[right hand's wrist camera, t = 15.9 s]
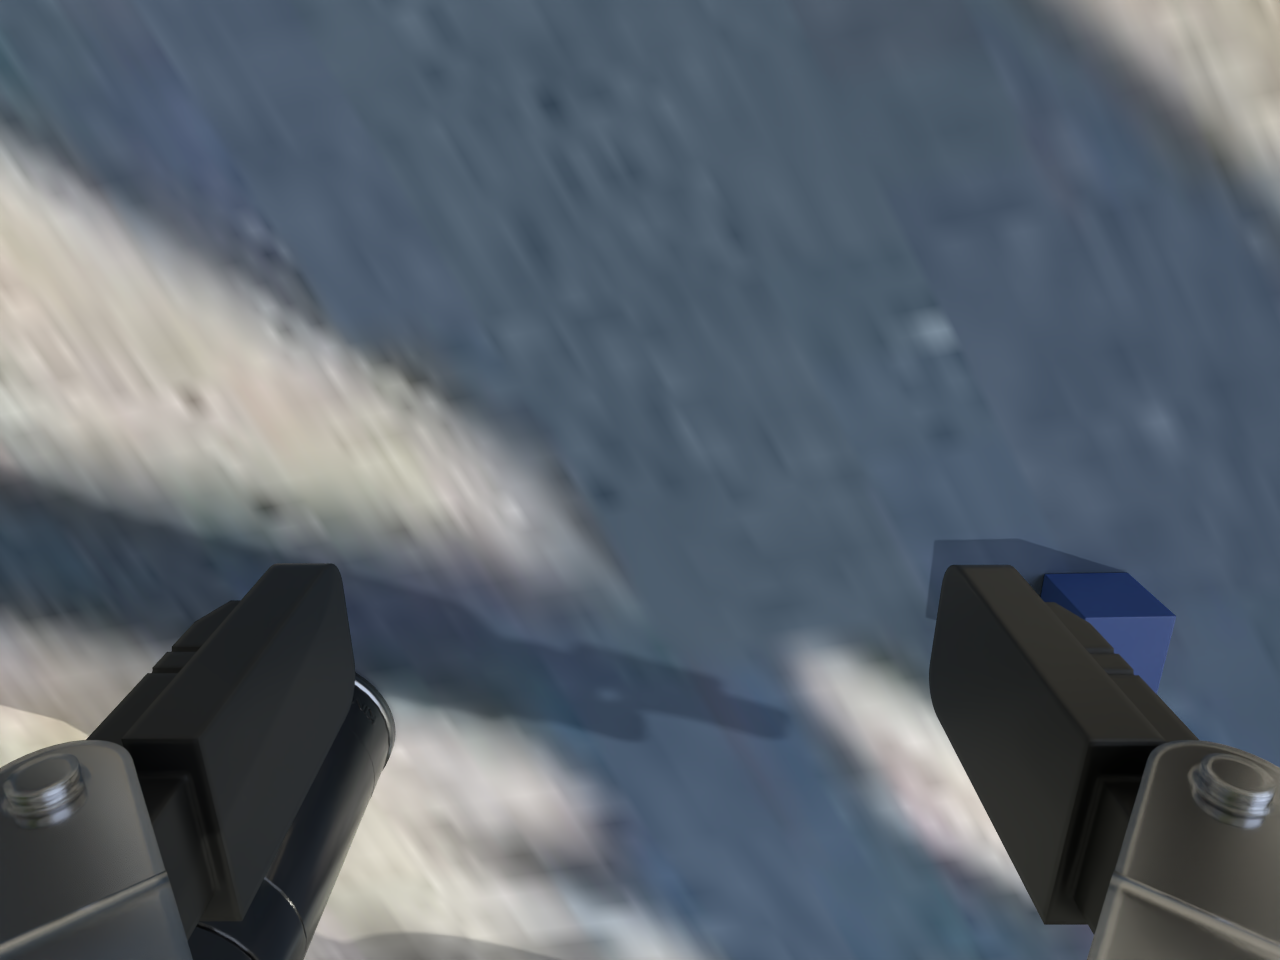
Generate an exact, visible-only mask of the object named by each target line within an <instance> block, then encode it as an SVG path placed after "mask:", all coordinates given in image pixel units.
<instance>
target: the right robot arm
mask: <svg viewBox="0 0 1280 960" xmlns="http://www.w3.org/2000/svg"><path fill="white" fill-rule="evenodd" d="M929 685H930V694H931V699H932V703H933V707H934V710H935V713H936V715H937V717H938V719H939V721H940V723H941V725H942V727H943V729H944V731H945V733H946V735H947V737H948V738H949V740H950V742H951V744H952V746H953V748H954V750H955V752H956V754H957V756H958V758H959V760H960V762H961V764H962V766H963V768H964V769H965V771H966V773H967V775H968V777H969V779H970V781H971V783H972V785H973V787H974V789H975V791H976V793H977V795H978V797H979V799H980V800H981V802H982V804H983V806H984V808H985V810H986V812H987V814H988V816H989V818H990V820H991V822H992V824H993V826H994V828H995V830H996V832H997V833H998V835H999V837H1000V839H1001V841H1002V843H1003V845H1004V847H1005V849H1006V851H1007V853H1008V855H1009V857H1010V859H1011V861H1012V863H1013V864H1014V866H1015V868H1016V870H1017V872H1018V874H1019V876H1020V878H1021V880H1022V882H1023V884H1024V886H1025V888H1026V890H1027V892H1028V894H1029V895H1030V897H1031V899H1032V901H1033V903H1034V905H1035V907H1036V909H1037V911H1038V913H1039V915H1040V917H1041V919H1042V921H1043V923H1044V924H1088V925H1089V927H1090V929H1091V930H1092V932H1093V934H1094V938H1093V941H1092V945H1091V948H1090V951H1089V955H1088V958H1087V960H1280V768H1279V767H1277V766H1275V765H1273V764H1272V763H1270V762H1268V761H1266V760H1264V759H1262V758H1259V757H1257V756H1255V755H1253V754H1250V753H1247V752H1245V751H1242V750H1240V749H1236V748H1233V747H1230V746H1226V745H1222V744H1218V743H1213V742H1207V741H1200V740H1199V739H1198V738H1197V737H1196V736H1195V735H1194V734H1193V733H1192V732H1191V731H1190V730H1189V729H1188V727H1187V726H1186V725H1185V724H1184V723H1183V722H1182V721H1181V720H1180V719H1179V718H1178V717H1177V716H1176V715H1175V714H1174V712H1173V711H1172V710H1171V709H1170V708H1169V707H1168V706H1167V705H1166V704H1165V703H1164V702H1163V701H1162V700H1161V699H1160V697H1159V696H1158V695H1157V694H1156V693H1155V692H1154V691H1153V690H1152V689H1151V688H1150V687H1149V686H1148V685H1147V684H1146V682H1145V681H1144V680H1143V679H1142V678H1141V677H1140V676H1139V675H1134V670H1133V669H1132V667H1131V666H1130V665H1129V664H1128V663H1127V662H1126V661H1125V660H1124V659H1123V658H1122V657H1121V656H1120V655H1119V654H1115V653H1114V648H1113V647H1112V646H1111V645H1110V644H1109V643H1108V642H1107V641H1106V640H1105V638H1104V637H1103V636H1102V635H1101V634H1100V633H1099V632H1098V631H1097V630H1096V629H1095V628H1094V627H1093V626H1092V625H1091V624H1090V623H1089V622H1087V621H1085V620H1084V619H1082V618H1080V617H1079V616H1077V615H1075V614H1074V613H1072V612H1070V611H1069V610H1067V609H1065V608H1064V607H1062V606H1060V605H1058V604H1057V603H1055V602H1044V601H1043V600H1042V599H1041V597H1040V596H1039V595H1038V594H1037V593H1036V592H1035V591H1034V590H1033V588H1032V587H1031V586H1030V585H1029V584H1028V583H1027V582H1026V580H1025V579H1024V578H1023V577H1022V576H1021V575H1020V574H1019V572H1018V571H1017V570H1016V569H1015V568H1014V567H1012V566H1010V565H951V566H950V567H949V568H948V569H947V570H946V572H945V575H944V578H943V582H942V588H941V594H940V601H939V608H938V614H937V621H936V627H935V634H934V640H933V647H932V654H931V660H930V668H929ZM394 741H395V724H394V719H393V716H392V713H391V711H390V708H389V706H388V705H387V703H386V701H385V700H384V698H383V697H382V695H381V694H380V693H379V692H378V690H377V689H376V688H375V687H374V686H373V685H372V684H370V683H369V682H368V681H367V680H366V679H364V678H363V677H361V676H360V675H358V674H357V673H355V663H354V656H353V650H352V643H351V636H350V629H349V623H348V616H347V609H346V603H345V596H344V589H343V583H342V578H341V575H340V572H339V570H338V568H337V567H336V566H335V565H334V564H274V565H272V566H271V567H270V568H269V569H268V570H267V571H266V572H265V573H264V575H263V576H262V577H261V578H260V579H259V580H258V582H257V583H256V584H255V585H254V586H253V587H252V588H251V590H250V591H249V592H248V593H247V594H246V595H245V597H244V598H243V599H242V600H241V601H229V602H228V603H226V604H224V605H223V606H221V607H219V608H218V609H216V610H214V611H213V612H211V613H209V614H207V615H206V616H204V617H202V618H201V619H199V620H197V621H196V622H194V624H193V625H192V626H191V627H190V628H189V629H188V630H187V631H186V632H185V633H184V634H183V635H182V637H181V638H180V639H179V640H178V641H177V642H176V643H175V644H174V645H173V646H172V651H171V652H167V653H166V654H165V655H164V656H163V657H162V658H161V659H160V660H159V661H158V662H157V664H156V665H155V666H154V667H153V671H152V673H147V674H146V675H145V677H144V678H143V679H142V680H141V681H140V682H139V683H138V684H137V685H136V686H135V687H134V688H133V690H132V691H131V692H130V693H129V694H128V695H127V696H126V697H125V698H124V699H123V700H122V701H121V703H120V704H119V705H118V706H117V707H116V708H115V709H114V710H113V711H112V712H111V713H110V714H109V716H108V717H107V718H106V719H105V720H104V721H103V722H102V723H101V724H100V725H99V726H98V727H97V728H96V730H95V731H94V732H93V733H92V734H91V735H90V736H89V737H88V738H87V739H86V740H81V741H73V742H67V743H62V744H58V745H54V746H50V747H47V748H44V749H40V750H38V751H35V752H33V753H30V754H27V755H25V756H23V757H21V758H18V759H16V760H14V761H12V762H10V763H8V764H7V765H5V766H3V767H1V768H0V960H303V959H304V957H305V955H306V952H307V950H308V947H309V945H310V942H311V940H312V938H313V935H314V933H315V930H316V928H317V926H318V923H319V921H320V918H321V916H322V914H323V911H324V909H325V906H326V904H327V901H328V899H329V897H330V894H331V892H332V889H333V887H334V885H335V882H336V880H337V877H338V875H339V873H340V870H341V868H342V865H343V863H344V860H345V858H346V856H347V853H348V851H349V848H350V846H351V844H352V841H353V839H354V836H355V834H356V832H357V829H358V827H359V824H360V822H361V819H362V817H363V815H364V812H365V810H366V807H367V805H368V803H369V800H370V798H371V796H372V794H373V791H374V789H375V786H376V784H377V781H378V779H379V777H380V774H381V772H382V770H383V769H384V767H385V766H386V764H387V761H388V759H389V757H390V754H391V752H392V749H393V746H394Z"/></svg>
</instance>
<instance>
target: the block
mask: <svg viewBox="0 0 1280 960" xmlns="http://www.w3.org/2000/svg"><path fill="white" fill-rule="evenodd" d="M1041 599H1042V600H1043V601H1044V602H1055V603H1057V604H1058V605H1060V606H1062V607H1064V608H1065V609H1067V610H1069V611H1070V612H1072V613H1074V614H1075V615H1077V616H1079V617H1080V618H1082V619H1084V620H1085V621H1087V622H1089V623H1090V624H1091V625H1092V626H1093V627H1094V628H1095V629H1096V630H1097V631H1098V632H1099V633H1100V634H1101V635H1102V636H1103V637H1104V638H1105V640H1106V641H1107V642H1108V643H1109V644H1110V645H1111V646H1112V647H1113V648H1114V653H1115V654H1119V655H1120V656H1121V657H1122V658H1123V659H1124V660H1125V661H1126V662H1127V663H1128V664H1129V665H1130V666H1131V667H1132V669H1133V670H1134V675H1139V676H1140V677H1141V678H1142V679H1143V680H1144V681H1145V682H1146V684H1147V685H1148V686H1149V687H1150V688H1151V689H1152V690H1153V691H1154V692H1155V693H1156V694H1157V691H1158V687H1159V683H1160V679H1161V675H1162V671H1163V667H1164V663H1165V659H1166V655H1167V651H1168V647H1169V643H1170V639H1171V635H1172V631H1173V627H1174V623H1175V619H1176V616H1175V615H1174V614H1173V613H1172V612H1171V611H1170V610H1169V609H1167V608H1166V607H1165V606H1164V605H1163V604H1162V603H1161V602H1160V601H1159V600H1157V599H1156V598H1155V597H1154V596H1153V595H1152V594H1151V593H1150V592H1148V591H1147V590H1146V589H1145V588H1144V587H1143V586H1142V585H1141V584H1140V583H1138V582H1137V581H1136V580H1135V579H1134V578H1133V577H1132V576H1131V575H1130V574H1128V573H1076V574H1045V575H1044V581H1043V586H1042V592H1041Z"/></svg>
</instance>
